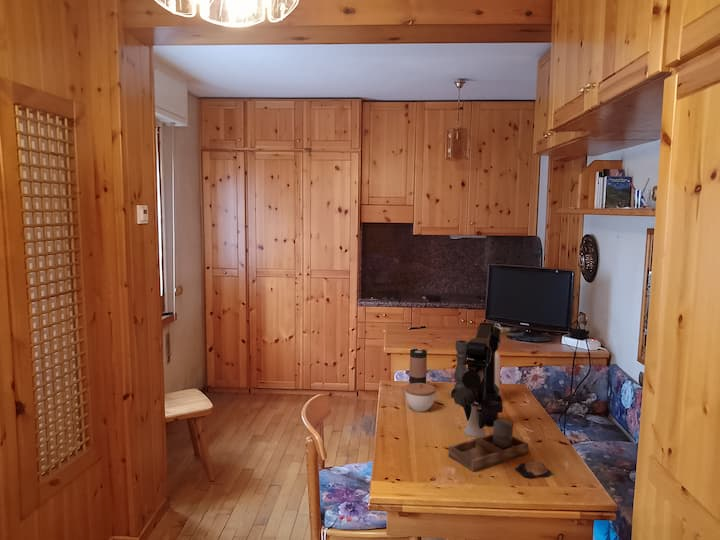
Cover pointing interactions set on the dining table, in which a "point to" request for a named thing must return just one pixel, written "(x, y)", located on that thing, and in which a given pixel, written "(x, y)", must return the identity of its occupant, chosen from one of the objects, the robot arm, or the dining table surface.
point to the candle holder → (460, 363)
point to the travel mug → (418, 366)
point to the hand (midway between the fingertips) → (475, 425)
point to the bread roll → (533, 470)
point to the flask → (474, 424)
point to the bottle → (497, 369)
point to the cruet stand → (489, 448)
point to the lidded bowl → (420, 396)
